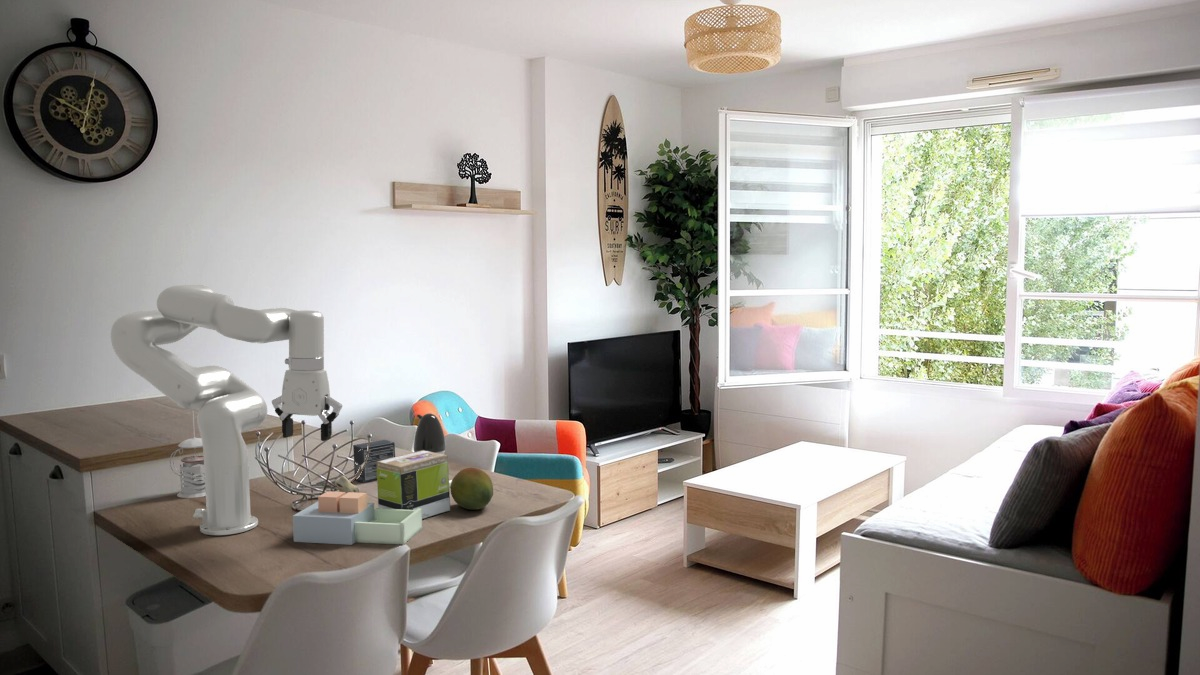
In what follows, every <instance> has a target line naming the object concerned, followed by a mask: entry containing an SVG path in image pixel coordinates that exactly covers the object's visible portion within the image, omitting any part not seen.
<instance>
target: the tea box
mask: <svg viewBox="0 0 1200 675" xmlns="http://www.w3.org/2000/svg"><path fill="white" fill-rule="evenodd" d="M448 455H449V454H445V453H444V454H439V453H434V452H429V451H425V450H422V451H418V452H415V451H414V452H411V453H406V454H401V455H398V456H395V457H393V458H389V459H385V460H381V461H377V481H376V483H377V503H378V504H377V505H378V508H381V509H403V510H417V509H418V508H422V520H423V519H427V518H429V517H432V516H436V515H440V514H442V513H445V512H448V511H451V497H450V496H451V495H450V494H451V490H450V487H449V481H450V474H449V456H448Z"/></svg>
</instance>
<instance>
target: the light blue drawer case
mask: <svg viewBox="0 0 1200 675" xmlns="http://www.w3.org/2000/svg"><path fill="white" fill-rule="evenodd" d="M374 509H375V502H367V508H366V509H364V510H363V511H361V512H360V513H340V511H339V512H319V509H318V501H316V502H314V503H313V504H311V505H309V506H307V507H305V508H304V509H302V510H300V511H298V512H296V513H295V514H294V515H292V528H293V529H292V530H293V531H292V532H293V535H292V537H293V542H294V543H313V544H316V543H317V544H326V545H327V544H330V545H331V544H332V545H347V546H351V545H354V544H355V543H356V542H355V522H371V521H372V520H374V519H375V515H374Z"/></svg>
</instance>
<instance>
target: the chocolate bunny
mask: <svg viewBox="0 0 1200 675" xmlns="http://www.w3.org/2000/svg"><path fill="white" fill-rule="evenodd" d="M334 485H335V486H336V488H337V489H338V492H346V493H348V492H356V493H362V491H361V489H360V488H359V486H357V485H354V484H352V482H351V481H350V480H349V479H348V478H347V477H346V476H345V475H340V477H339V479H337V480H335V481H334Z"/></svg>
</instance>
